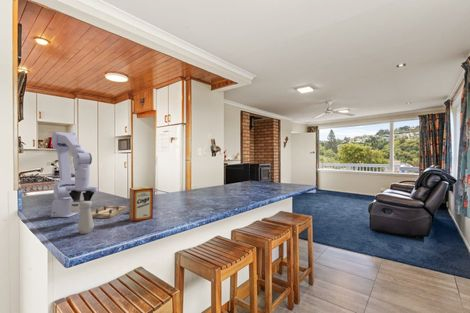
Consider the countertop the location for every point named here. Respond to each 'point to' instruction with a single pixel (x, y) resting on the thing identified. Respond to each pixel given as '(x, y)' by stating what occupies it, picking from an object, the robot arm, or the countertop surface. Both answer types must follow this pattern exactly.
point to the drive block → (77, 205)
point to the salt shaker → (85, 218)
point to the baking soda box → (141, 203)
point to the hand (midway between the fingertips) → (81, 206)
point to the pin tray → (108, 211)
